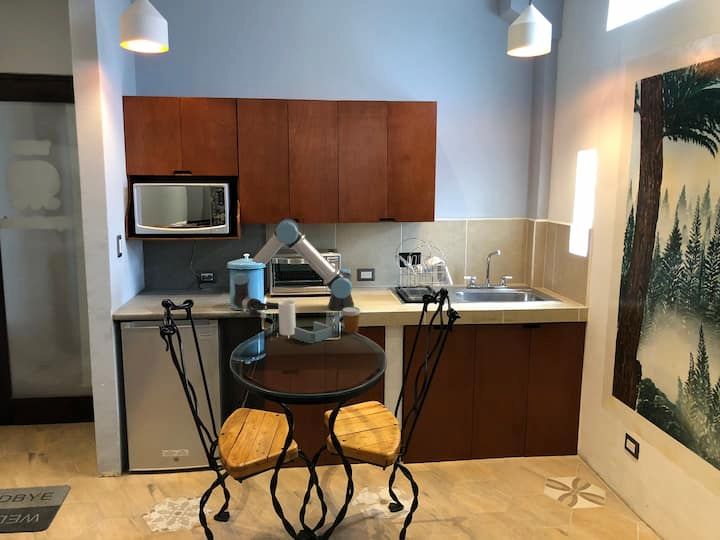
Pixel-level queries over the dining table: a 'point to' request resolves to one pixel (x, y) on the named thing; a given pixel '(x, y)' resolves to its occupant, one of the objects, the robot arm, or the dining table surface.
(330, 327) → the end holder
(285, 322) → the cup
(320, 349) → the dining table surface
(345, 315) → the disposable coffee cup
